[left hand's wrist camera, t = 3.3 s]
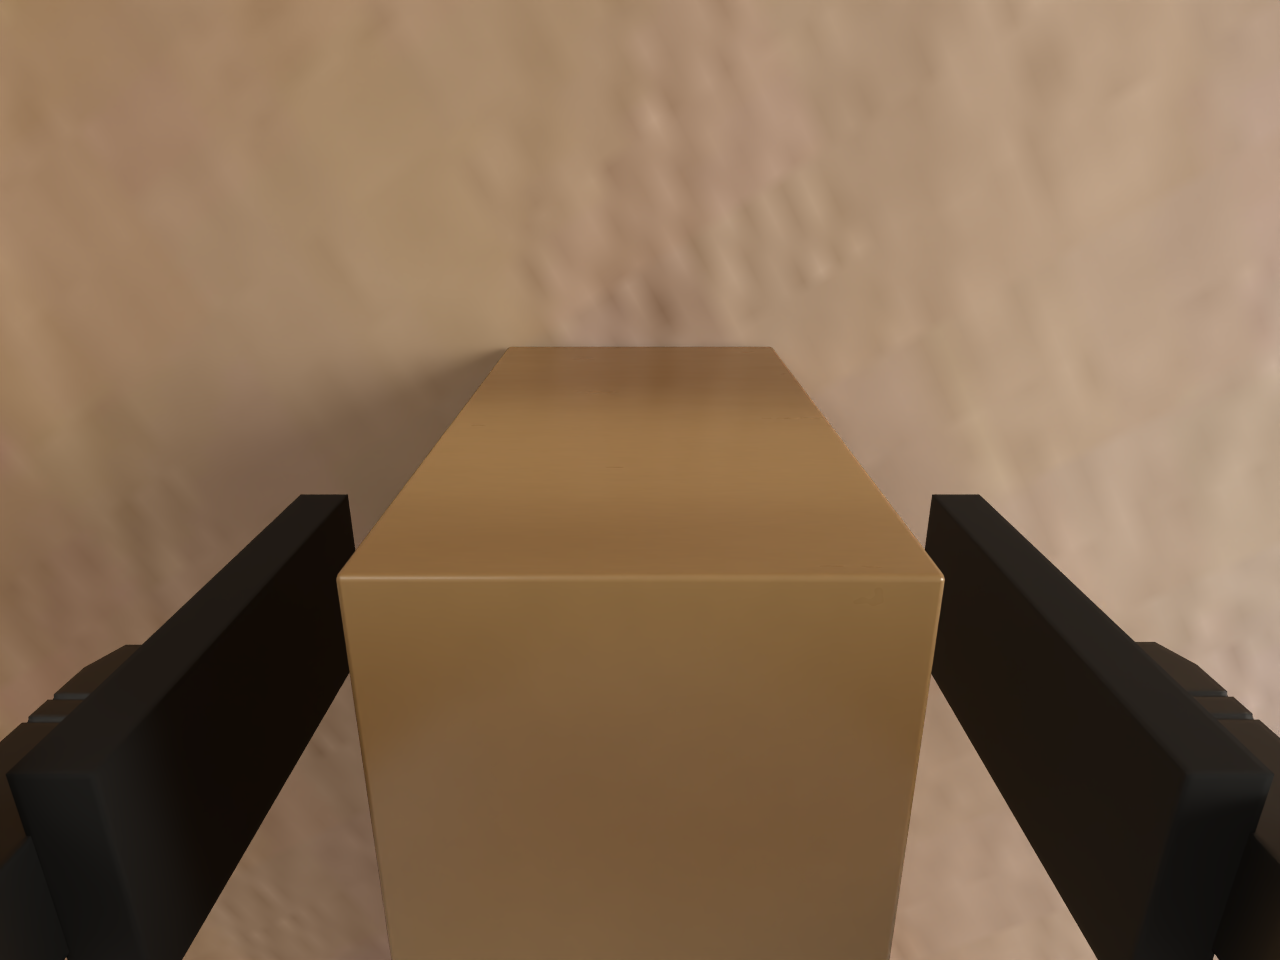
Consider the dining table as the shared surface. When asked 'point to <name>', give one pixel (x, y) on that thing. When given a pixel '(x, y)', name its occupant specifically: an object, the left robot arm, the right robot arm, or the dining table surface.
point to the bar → (640, 670)
